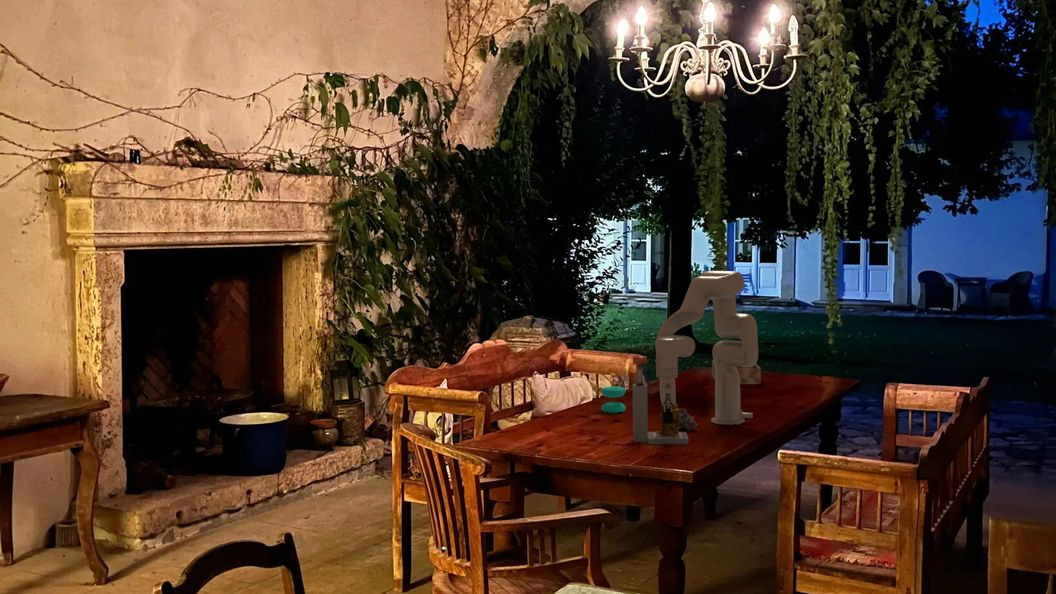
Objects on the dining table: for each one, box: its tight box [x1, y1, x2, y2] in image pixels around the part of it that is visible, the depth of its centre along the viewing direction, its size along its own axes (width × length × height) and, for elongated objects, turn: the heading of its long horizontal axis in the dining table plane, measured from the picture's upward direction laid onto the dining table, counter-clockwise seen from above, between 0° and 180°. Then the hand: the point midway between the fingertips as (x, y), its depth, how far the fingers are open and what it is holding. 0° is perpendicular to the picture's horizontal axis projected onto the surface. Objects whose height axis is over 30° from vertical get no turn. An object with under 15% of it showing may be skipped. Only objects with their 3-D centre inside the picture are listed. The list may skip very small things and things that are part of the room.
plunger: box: [632, 355, 648, 386], centre depth 370 cm, size 5×5×13 cm
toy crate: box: [711, 360, 762, 384], centre depth 508 cm, size 20×29×9 cm
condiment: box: [655, 400, 681, 436], centre depth 371 cm, size 7×8×12 cm
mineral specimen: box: [659, 407, 698, 432], centre depth 391 cm, size 12×9×10 cm
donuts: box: [600, 385, 627, 414], centre depth 432 cm, size 10×10×10 cm
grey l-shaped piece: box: [632, 383, 690, 445], centre depth 371 cm, size 19×12×20 cm, turn 85°
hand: (667, 420), depth 371 cm, fingers open, 9 cm apart
